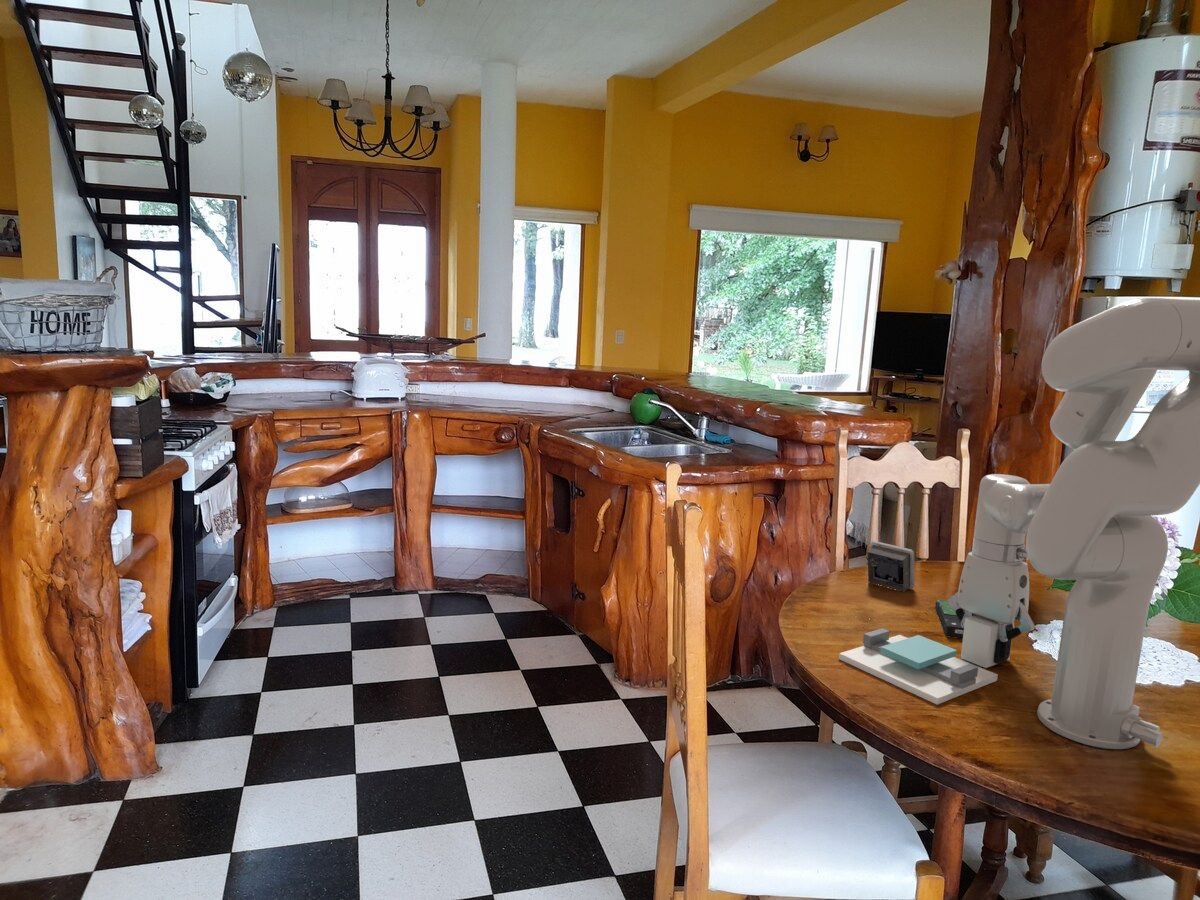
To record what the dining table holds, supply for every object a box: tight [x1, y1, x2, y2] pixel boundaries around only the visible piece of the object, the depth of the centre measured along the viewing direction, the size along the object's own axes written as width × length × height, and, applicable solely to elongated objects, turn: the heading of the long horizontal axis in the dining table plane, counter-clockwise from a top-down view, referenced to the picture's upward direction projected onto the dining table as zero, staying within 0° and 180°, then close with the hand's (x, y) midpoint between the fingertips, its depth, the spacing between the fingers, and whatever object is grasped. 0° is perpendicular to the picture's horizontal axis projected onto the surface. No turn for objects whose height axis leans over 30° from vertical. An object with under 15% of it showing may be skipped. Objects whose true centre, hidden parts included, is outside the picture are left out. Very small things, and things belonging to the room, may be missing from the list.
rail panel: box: [838, 627, 999, 705], centre depth 132 cm, size 18×16×3 cm
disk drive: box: [934, 598, 964, 639], centre depth 153 cm, size 10×3×15 cm
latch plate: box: [880, 634, 958, 669], centre depth 132 cm, size 7×10×1 cm
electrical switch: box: [866, 540, 916, 593], centre depth 172 cm, size 9×5×9 cm, turn 47°
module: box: [960, 615, 1013, 669], centre depth 137 cm, size 5×7×7 cm
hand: (984, 654), depth 138 cm, fingers closed on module, 4 cm apart
